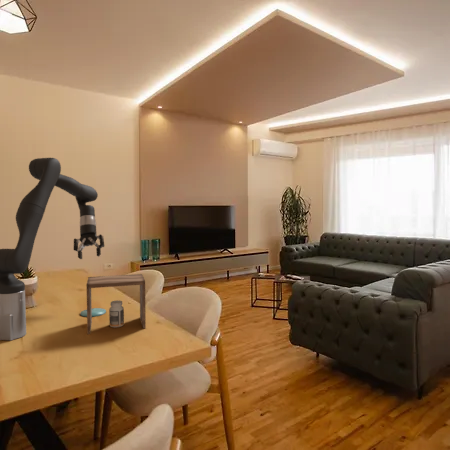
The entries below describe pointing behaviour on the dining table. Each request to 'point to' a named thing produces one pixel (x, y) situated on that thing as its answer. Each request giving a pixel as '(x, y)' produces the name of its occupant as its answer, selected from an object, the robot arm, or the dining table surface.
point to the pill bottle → (116, 314)
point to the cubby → (112, 282)
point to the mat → (94, 312)
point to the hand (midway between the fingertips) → (89, 257)
